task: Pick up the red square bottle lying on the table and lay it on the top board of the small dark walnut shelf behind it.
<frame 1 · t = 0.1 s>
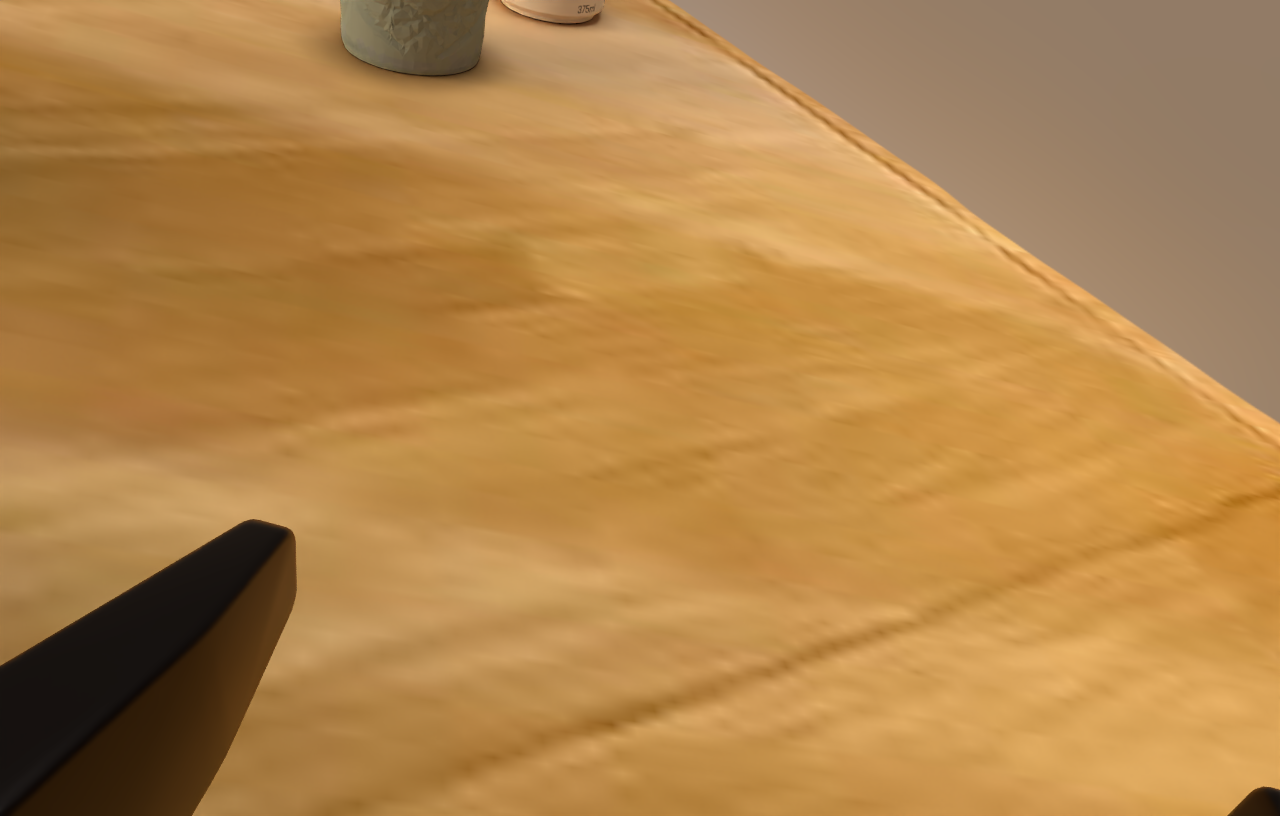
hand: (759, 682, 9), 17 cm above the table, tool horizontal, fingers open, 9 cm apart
supplement can: (547, 9, 76), on the table
grey-green cup: (414, 53, 64), on the table
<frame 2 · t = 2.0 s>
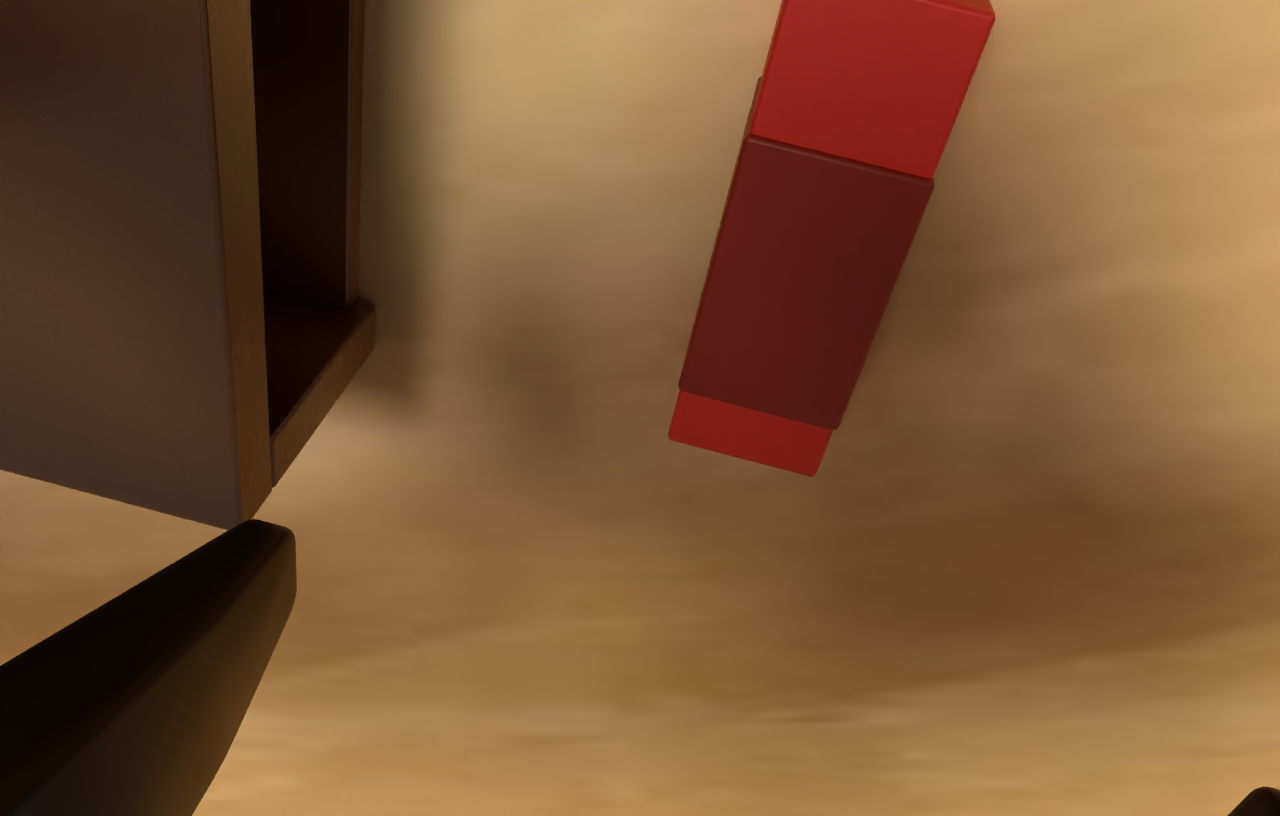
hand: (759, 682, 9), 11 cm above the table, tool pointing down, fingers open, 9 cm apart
red square bottle: (812, 190, 18), on the table
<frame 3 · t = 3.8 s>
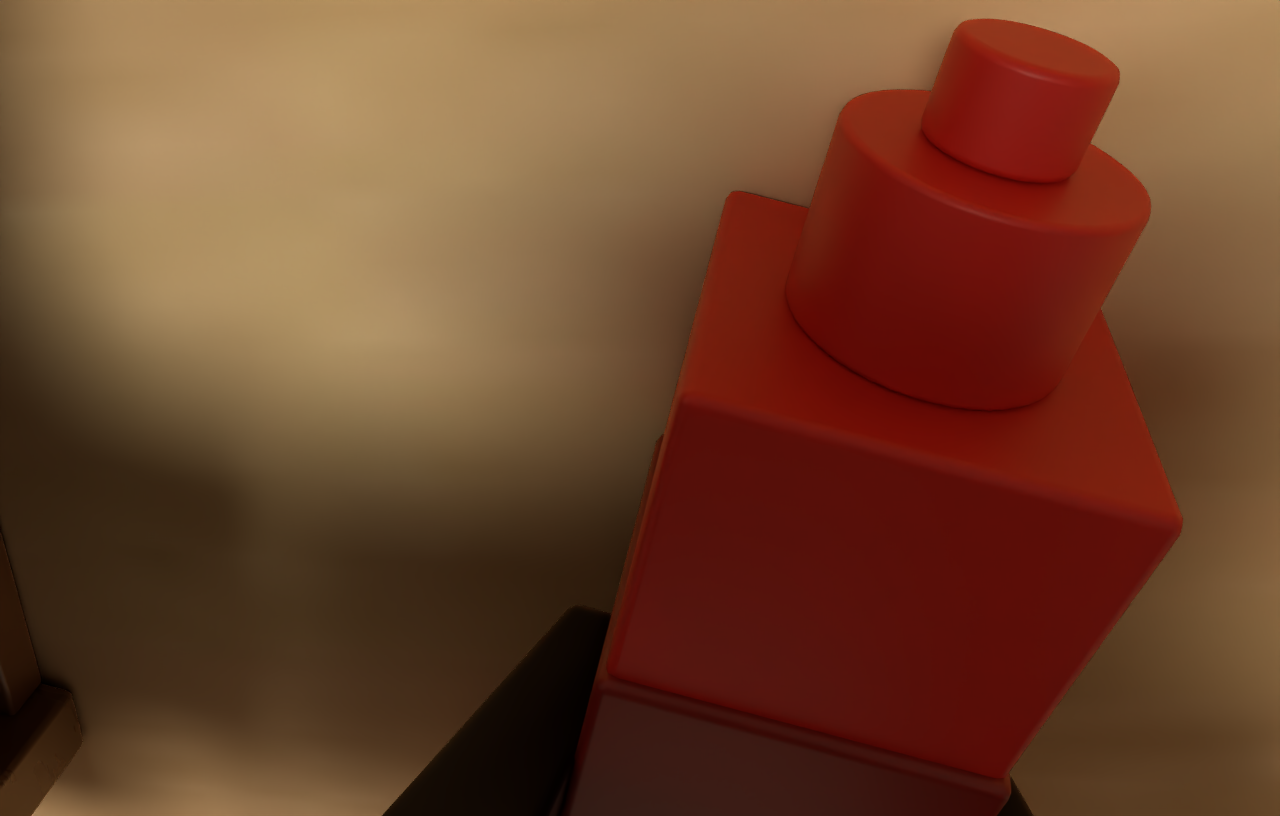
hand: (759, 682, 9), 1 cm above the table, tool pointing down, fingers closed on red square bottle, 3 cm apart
red square bottle: (765, 601, 10), on the table, touching gripper
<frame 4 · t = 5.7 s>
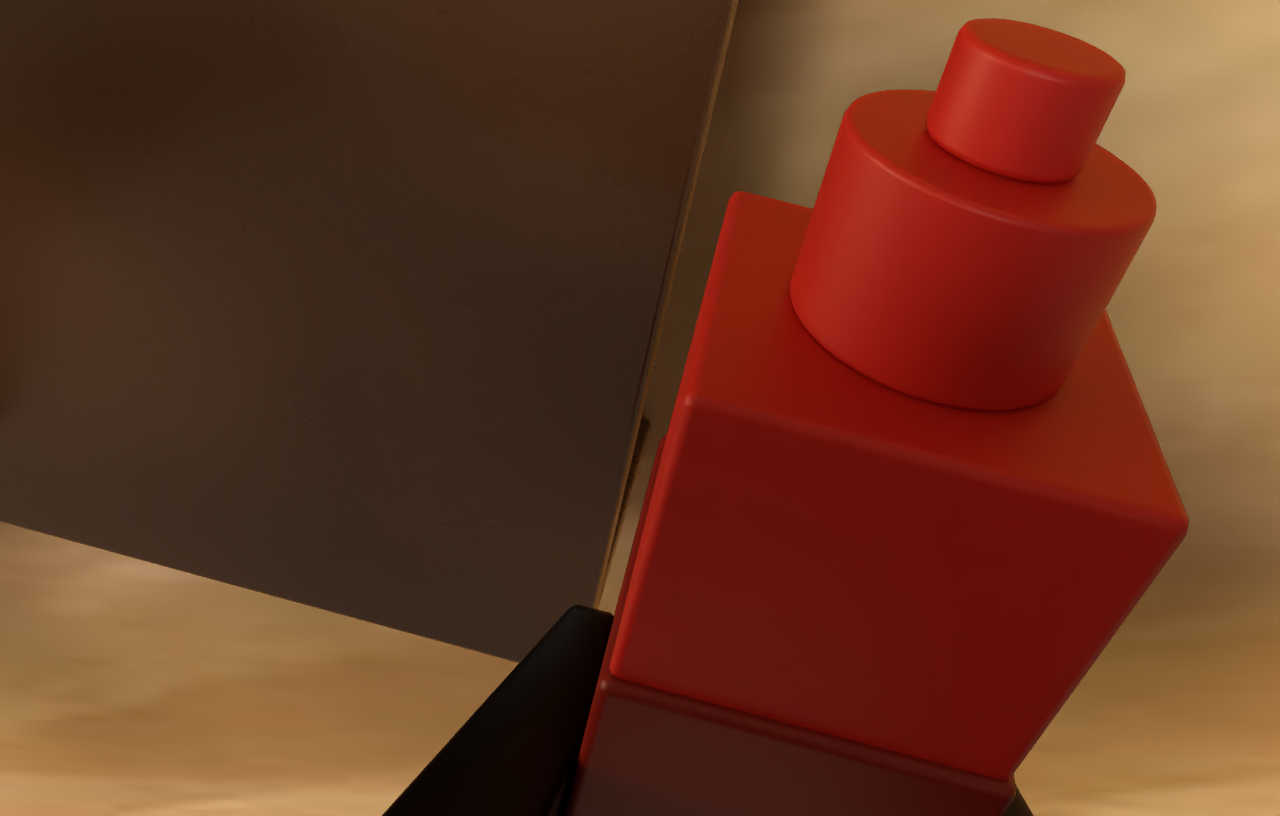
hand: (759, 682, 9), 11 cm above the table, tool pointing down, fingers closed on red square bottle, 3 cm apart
red square bottle: (767, 601, 10), point 10 cm above the table, touching gripper
shelf: (386, 24, 17), on the table
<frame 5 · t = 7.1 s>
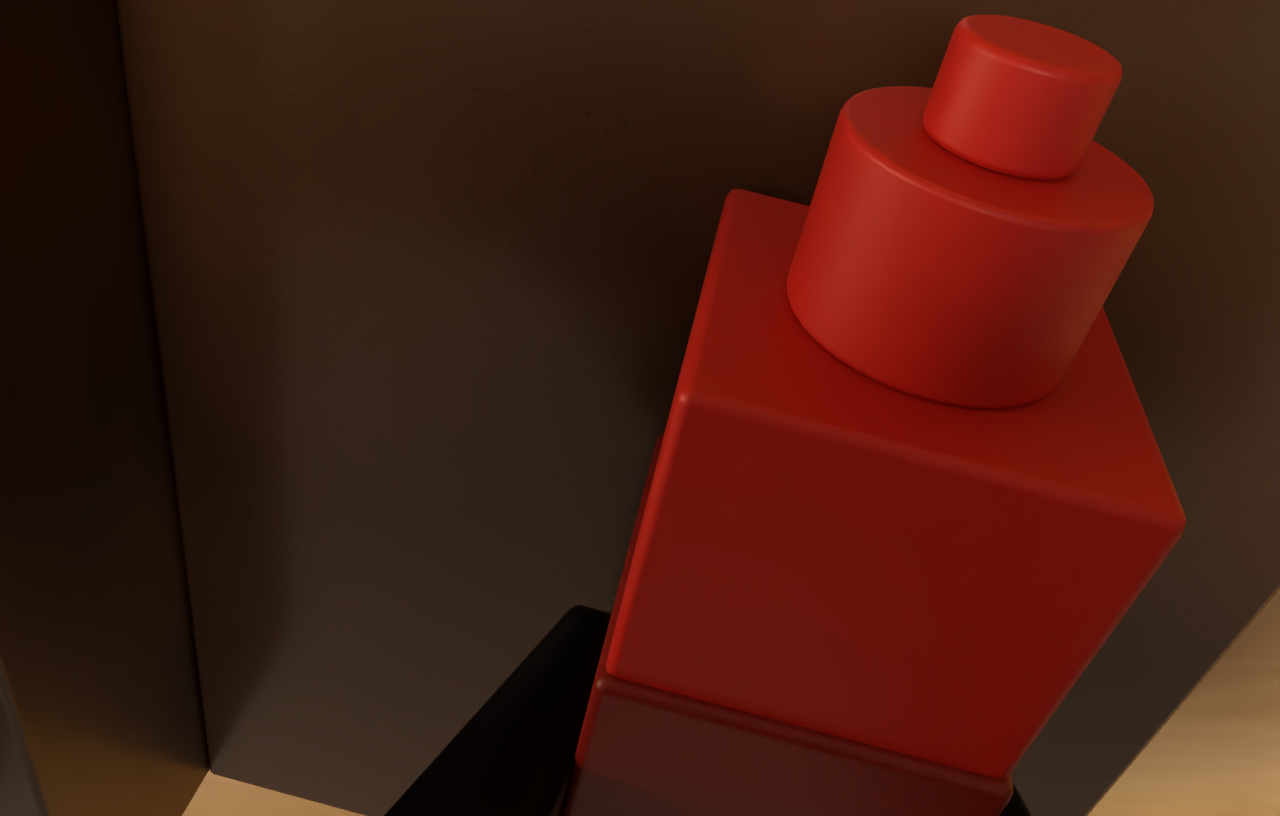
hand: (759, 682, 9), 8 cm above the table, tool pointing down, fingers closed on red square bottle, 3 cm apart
red square bottle: (765, 600, 10), point 7 cm above the table, touching gripper
shelf: (739, 253, 16), on the table
when the fingers open (7 cm above the table, at t = 7.7 s): red square bottle stays where it is, resting on shelf.
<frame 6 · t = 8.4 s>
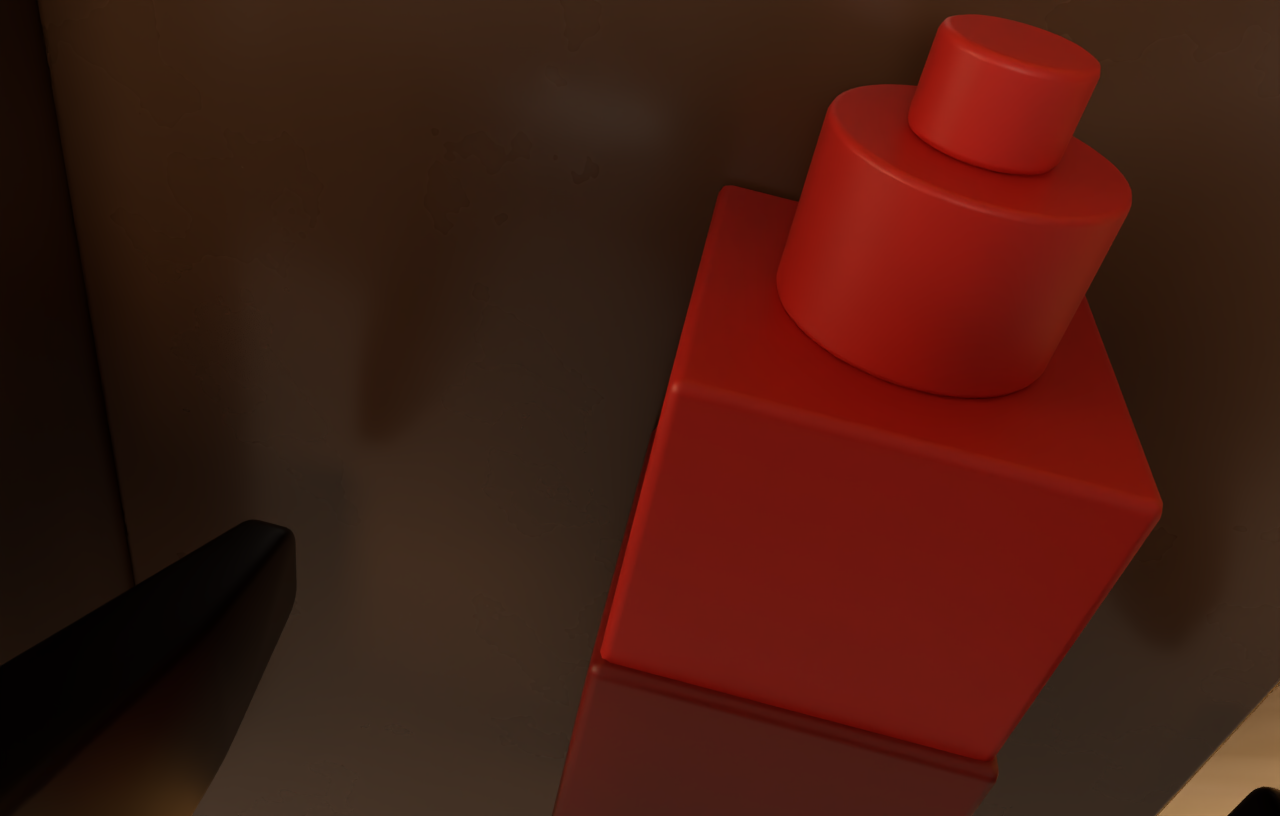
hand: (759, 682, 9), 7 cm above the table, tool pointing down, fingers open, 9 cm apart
red square bottle: (759, 591, 10), point 6 cm above the table, touching shelf
shelf: (728, 283, 15), on the table
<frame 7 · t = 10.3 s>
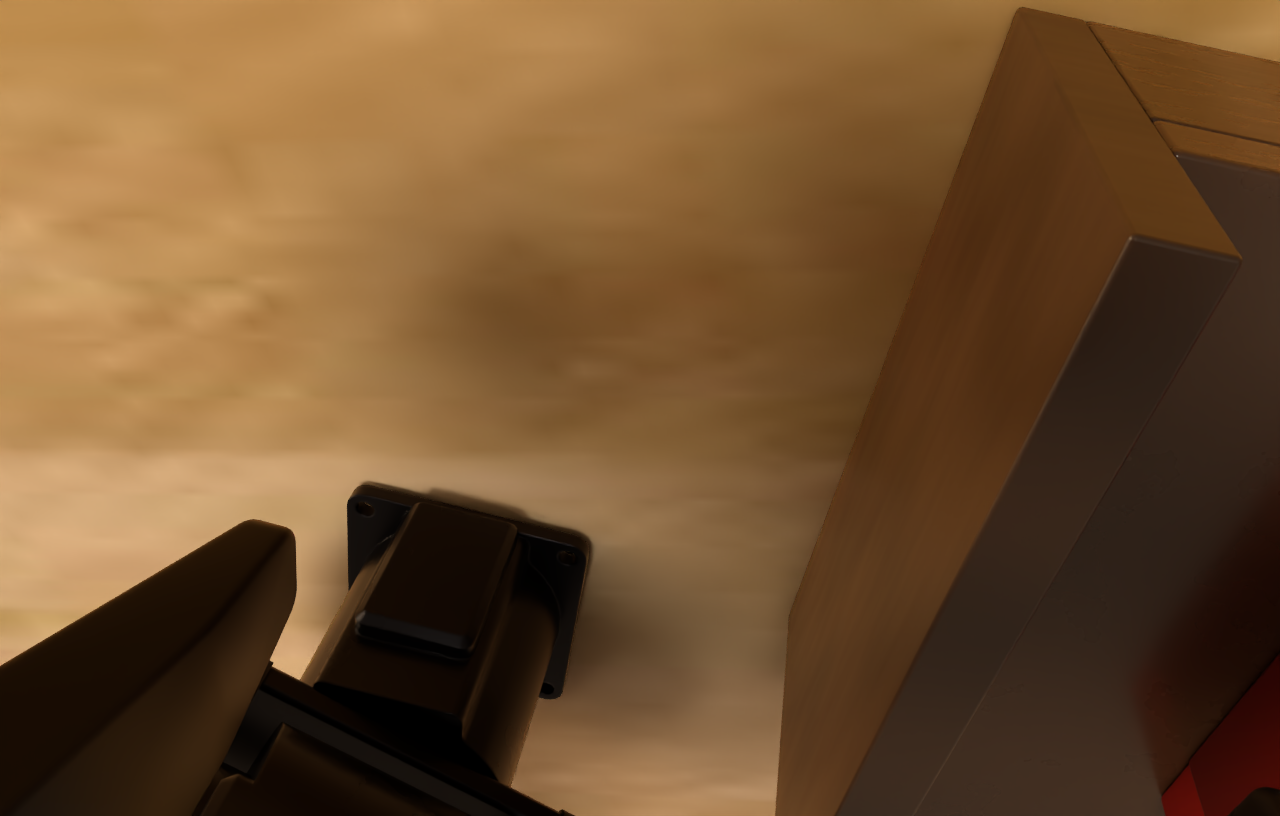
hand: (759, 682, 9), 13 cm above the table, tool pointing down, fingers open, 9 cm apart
shelf: (1203, 451, 22), on the table
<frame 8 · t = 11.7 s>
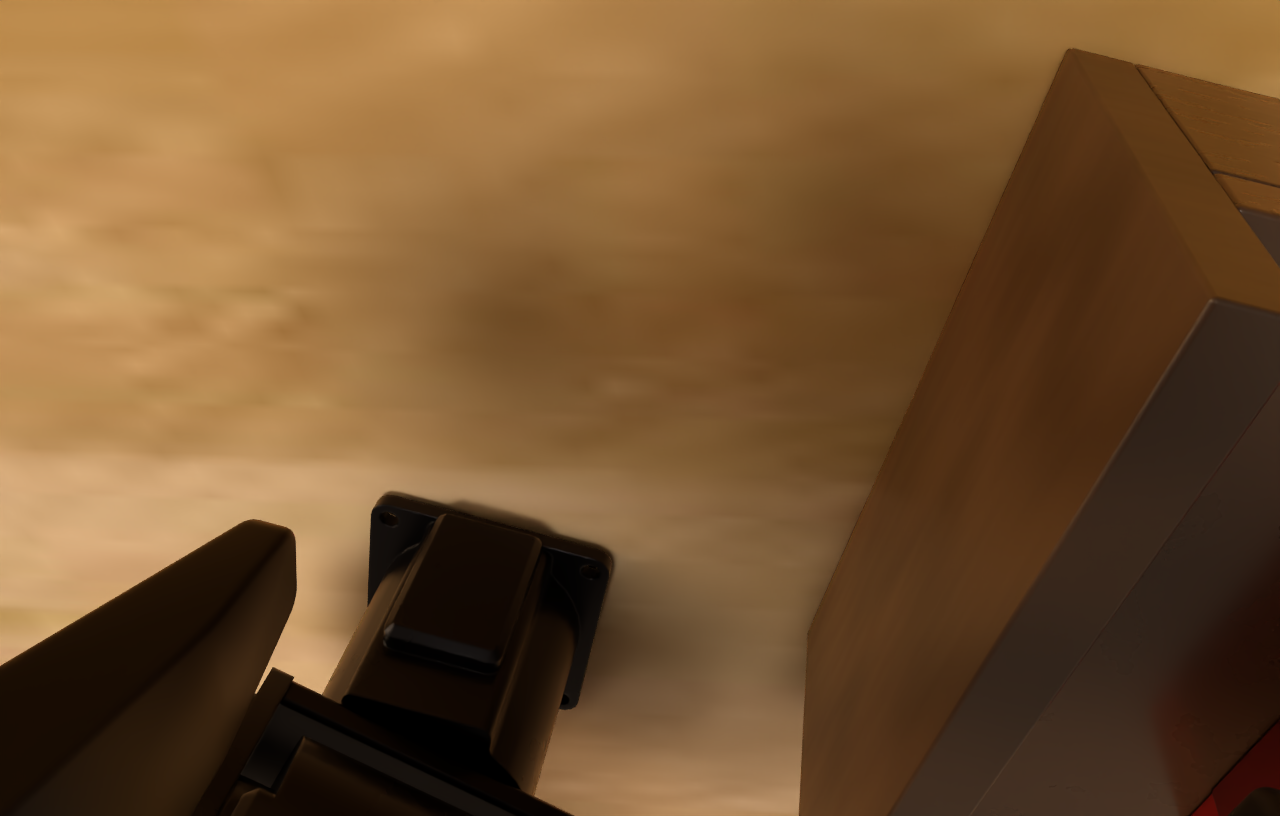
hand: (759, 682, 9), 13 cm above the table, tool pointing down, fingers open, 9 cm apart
shelf: (1226, 483, 22), on the table
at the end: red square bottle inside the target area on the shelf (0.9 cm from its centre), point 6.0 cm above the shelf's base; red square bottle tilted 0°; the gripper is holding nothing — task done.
